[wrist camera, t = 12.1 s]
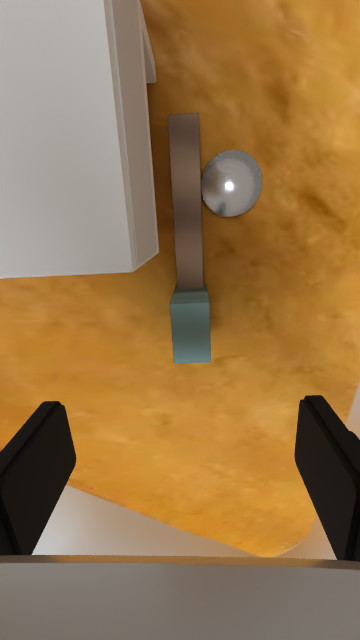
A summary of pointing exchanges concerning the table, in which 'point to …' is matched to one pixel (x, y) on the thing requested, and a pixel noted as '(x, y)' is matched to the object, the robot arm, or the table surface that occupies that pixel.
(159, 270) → the table surface
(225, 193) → the silver metal dome
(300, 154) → the table surface
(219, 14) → the table surface
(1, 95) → the cabinet
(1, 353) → the table surface
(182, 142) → the mallet
